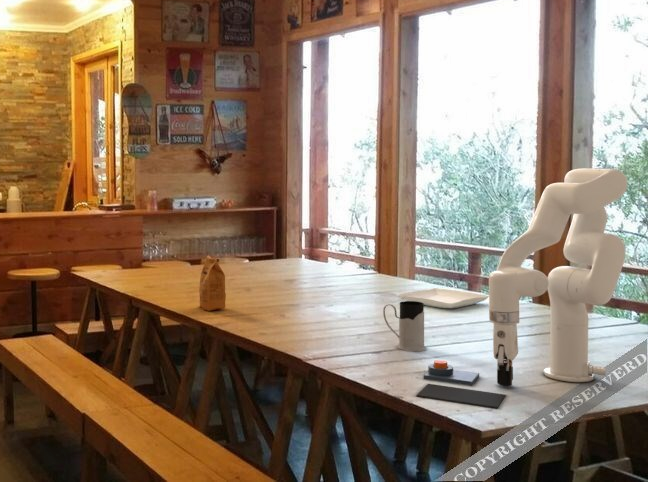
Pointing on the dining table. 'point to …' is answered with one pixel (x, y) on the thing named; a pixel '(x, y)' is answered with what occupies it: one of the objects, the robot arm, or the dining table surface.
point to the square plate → (443, 298)
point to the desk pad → (461, 395)
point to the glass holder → (410, 325)
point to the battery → (510, 374)
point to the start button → (440, 364)
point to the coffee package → (212, 285)
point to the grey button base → (451, 375)
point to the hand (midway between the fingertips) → (505, 381)
